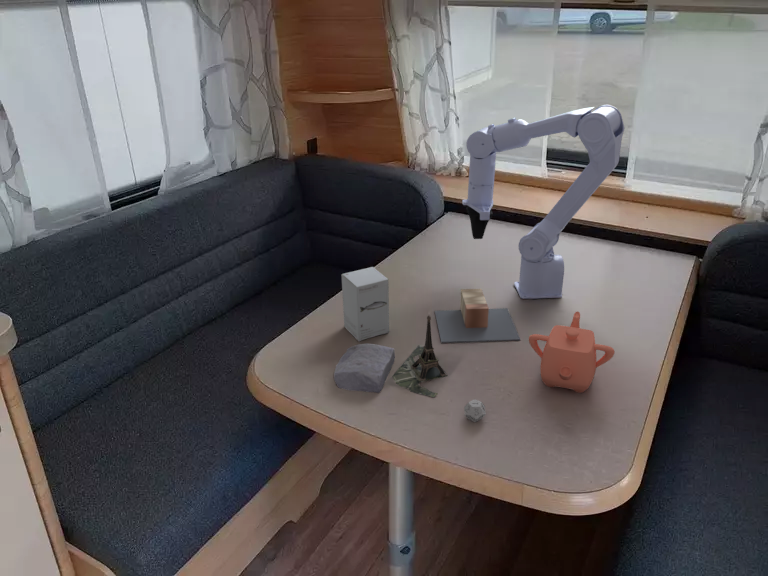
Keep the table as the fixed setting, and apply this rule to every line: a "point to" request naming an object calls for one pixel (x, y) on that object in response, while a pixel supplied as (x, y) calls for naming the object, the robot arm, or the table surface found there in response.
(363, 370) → the stone block
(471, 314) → the tall block
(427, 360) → the eiffel tower figurine
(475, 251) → the table surface
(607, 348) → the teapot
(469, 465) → the table surface
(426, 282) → the table surface
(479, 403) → the game die
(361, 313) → the supplement box
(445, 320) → the mat
